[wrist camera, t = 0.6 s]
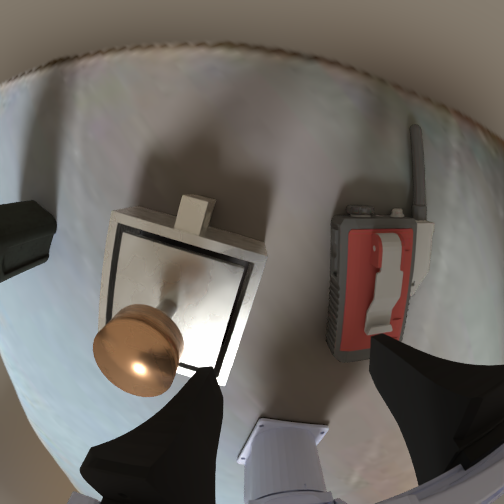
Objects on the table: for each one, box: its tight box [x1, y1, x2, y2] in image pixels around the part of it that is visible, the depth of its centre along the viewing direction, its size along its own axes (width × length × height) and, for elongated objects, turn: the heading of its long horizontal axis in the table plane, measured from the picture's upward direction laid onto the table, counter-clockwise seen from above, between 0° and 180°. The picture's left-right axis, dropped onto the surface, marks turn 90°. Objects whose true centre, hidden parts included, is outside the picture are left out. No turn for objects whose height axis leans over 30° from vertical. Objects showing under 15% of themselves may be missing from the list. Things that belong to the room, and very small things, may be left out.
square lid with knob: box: [93, 231, 244, 397], centre depth 14 cm, size 8×8×7 cm
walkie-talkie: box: [326, 124, 434, 363], centre depth 19 cm, size 9×4×20 cm
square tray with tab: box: [98, 194, 268, 386], centre depth 19 cm, size 12×10×4 cm
